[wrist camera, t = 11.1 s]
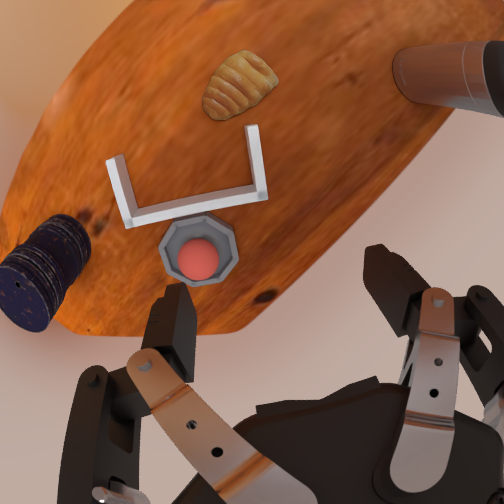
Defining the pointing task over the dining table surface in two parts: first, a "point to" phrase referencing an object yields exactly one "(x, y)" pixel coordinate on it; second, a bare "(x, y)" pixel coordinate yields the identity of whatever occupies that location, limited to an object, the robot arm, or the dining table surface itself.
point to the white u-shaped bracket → (192, 203)
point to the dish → (202, 228)
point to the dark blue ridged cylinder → (43, 272)
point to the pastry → (238, 85)
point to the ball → (198, 259)
